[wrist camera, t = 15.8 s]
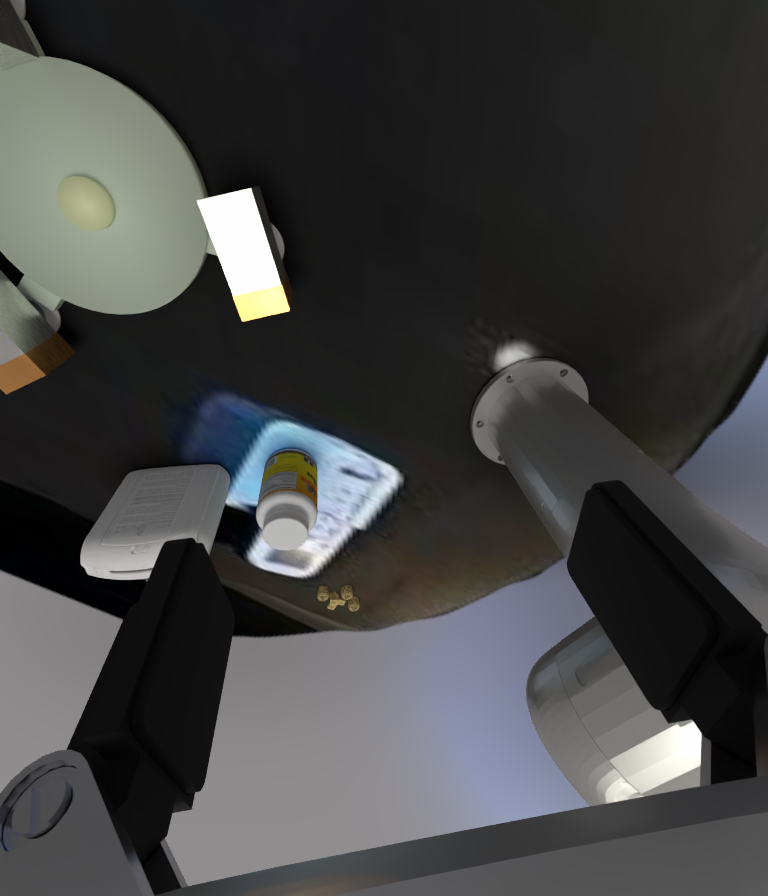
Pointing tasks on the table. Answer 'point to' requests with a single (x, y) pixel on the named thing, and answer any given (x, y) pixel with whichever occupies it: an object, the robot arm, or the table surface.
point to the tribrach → (95, 191)
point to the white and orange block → (248, 252)
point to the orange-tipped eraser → (14, 39)
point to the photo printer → (154, 518)
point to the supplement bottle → (288, 499)
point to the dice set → (346, 595)
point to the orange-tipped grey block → (26, 340)
